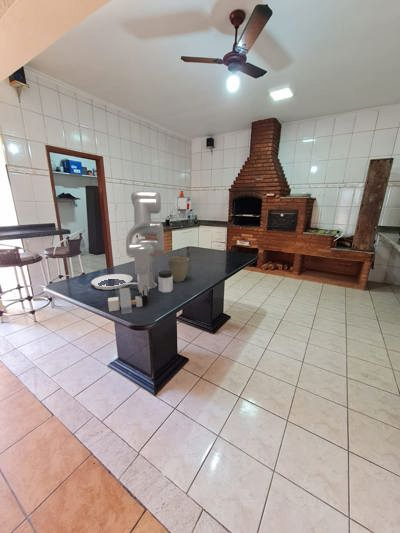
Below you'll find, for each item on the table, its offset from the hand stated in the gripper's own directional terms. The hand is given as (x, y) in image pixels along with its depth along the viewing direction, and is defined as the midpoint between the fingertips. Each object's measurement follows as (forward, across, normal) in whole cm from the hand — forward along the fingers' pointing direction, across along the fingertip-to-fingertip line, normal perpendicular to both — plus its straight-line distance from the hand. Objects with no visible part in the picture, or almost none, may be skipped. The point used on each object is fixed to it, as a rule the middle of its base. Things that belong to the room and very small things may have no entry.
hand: (144, 302), depth 120 cm
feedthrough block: (+1, 0, -10) cm, 10 cm away
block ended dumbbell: (+1, 0, -10) cm, 10 cm away
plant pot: (+1, -32, +29) cm, 43 cm away
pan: (+2, -33, -10) cm, 34 cm away
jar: (+1, -16, +16) cm, 23 cm away
